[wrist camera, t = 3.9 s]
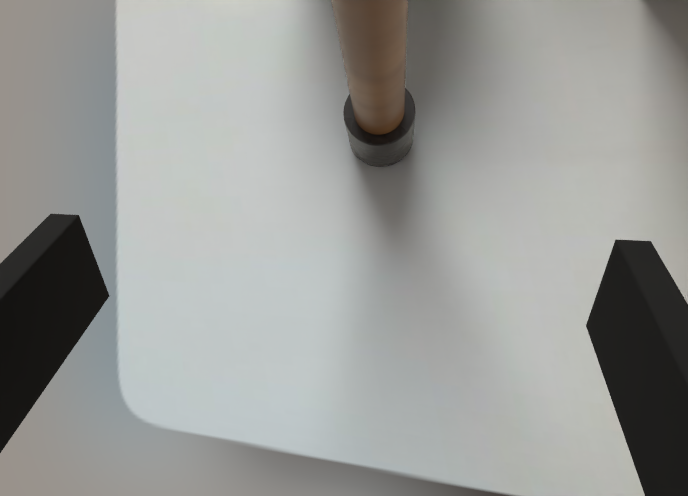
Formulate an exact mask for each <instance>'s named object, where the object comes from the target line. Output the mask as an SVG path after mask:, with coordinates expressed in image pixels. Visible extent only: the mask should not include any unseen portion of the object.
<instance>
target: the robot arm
mask: <svg viewBox="0 0 688 496" xmlns="http://www.w3.org/2000/svg"><path fill="white" fill-rule="evenodd" d="M108 297H109V294H108V291H107V288H106V286H105V284H104V280H103V278H102V276H101V273H100V270H99V267H98V265H97V262H96V259H95V257H94V254H93V252H92V249H91V246H90V244H89V241H88V238H87V236H86V233H85V230H84V228H83V225H82V223H81V220H80V217H79V215H64V214H50V215H49V216H48V217H47V218H46V219H45V220H44V221H43V222H42V223H41V224H40V225H39V226H38V227H37V228H36V229H35V230H34V231H33V232H32V233H31V234H30V235H29V236H28V237H27V238H26V239H25V240H24V241H23V242H22V243H21V244H20V245H19V246H18V247H17V248H16V249H15V250H14V251H13V252H12V253H11V254H10V255H9V256H8V257H7V258H6V259H5V260H4V261H3V262H2V263H1V264H0V453H1V451H2V450H3V448H4V447H5V445H6V444H7V443H8V441H9V440H10V438H11V437H12V435H13V434H14V432H15V431H16V430H17V428H18V427H19V425H20V424H21V422H22V421H23V419H24V418H25V417H26V415H27V414H28V412H29V411H30V409H31V408H32V407H33V405H34V404H35V402H36V401H37V399H38V398H39V396H40V395H41V394H42V392H43V391H44V389H45V388H46V386H47V385H48V384H49V382H50V381H51V379H52V378H53V376H54V375H55V373H56V372H57V371H58V369H59V368H60V366H61V365H62V363H63V362H64V360H65V359H66V357H67V356H68V354H69V353H70V352H71V350H72V349H73V347H74V346H75V345H76V343H77V342H78V340H79V339H80V337H81V336H82V335H83V333H84V332H85V330H86V329H87V327H88V326H89V325H90V323H91V322H92V320H93V319H94V317H95V316H96V314H97V313H98V312H99V310H100V309H101V307H102V306H103V304H104V303H105V301H106V300H107V299H108ZM586 327H587V330H588V332H589V335H590V338H591V341H592V344H593V347H594V350H595V353H596V355H597V358H598V361H599V364H600V367H601V370H602V373H603V376H604V378H605V381H606V384H607V387H608V390H609V393H610V396H611V399H612V402H613V404H614V407H615V410H616V413H617V416H618V419H619V422H620V425H621V427H622V430H623V433H624V436H625V439H626V442H627V445H628V448H629V450H630V453H631V456H632V459H633V462H634V465H635V468H636V471H637V474H638V476H639V479H640V482H641V485H642V488H643V491H644V494H645V496H688V304H687V302H686V301H685V299H684V297H683V296H682V294H681V292H680V290H679V289H678V287H677V285H676V284H675V282H674V280H673V278H672V277H671V275H670V273H669V272H668V270H667V268H666V267H665V265H664V263H663V261H662V260H661V258H660V256H659V255H658V253H657V251H656V249H655V248H654V246H653V244H652V243H651V241H633V240H615V243H614V246H613V249H612V252H611V255H610V258H609V261H608V263H607V266H606V269H605V272H604V275H603V278H602V281H601V284H600V287H599V290H598V292H597V295H596V298H595V301H594V304H593V307H592V310H591V313H590V316H589V319H588V322H587V324H586Z"/></svg>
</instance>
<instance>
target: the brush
mask: <svg viewBox="0 0 688 496" xmlns="http://www.w3.org/2000/svg"><path fill="white" fill-rule="evenodd" d="M331 2H332V7H333V12H334V17H335V22H336V27H337V32H338V37H339V42H340V47H341V51H342V56H343V61H344V66H345V71H346V76H347V81H348V86H349V91H350V94H349V96H348V98H347V100H346V102H345V106H344V120H345V124H346V128H347V132H348V136H349V140H350V144H351V147H352V150H353V151H354V153H355V154H356V156H357V157H358V158H359V159H360V160H362V161H363V162H365V163H367V164H369V165H372V166H378V167H384V166H389V165H392V164H395V163H397V162H398V161H400V160H401V159H402V158H403V157H404V156H405V155H406V154H407V153H408V151H409V150H410V148H411V145H412V142H413V133H414V121H415V104H414V101H413V98H412V96H411V94H410V93H409V91H408V90H407V89H406V88H405V79H406V49H407V20H408V0H331Z"/></svg>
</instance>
